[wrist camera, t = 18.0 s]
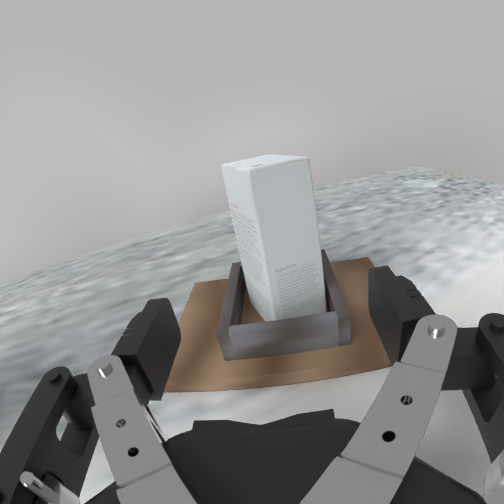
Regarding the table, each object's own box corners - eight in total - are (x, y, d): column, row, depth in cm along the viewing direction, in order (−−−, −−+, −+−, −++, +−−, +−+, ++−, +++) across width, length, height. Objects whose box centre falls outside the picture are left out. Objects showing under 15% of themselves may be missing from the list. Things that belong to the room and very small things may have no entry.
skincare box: (329, 318, 23) (311, 155, 18) (279, 341, 22) (246, 169, 17) (292, 287, 28) (270, 152, 24) (248, 303, 27) (217, 164, 22)
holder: (163, 392, 20) (144, 355, 19) (198, 292, 33) (189, 262, 32) (419, 358, 18) (427, 317, 17) (368, 267, 31) (367, 235, 29)
